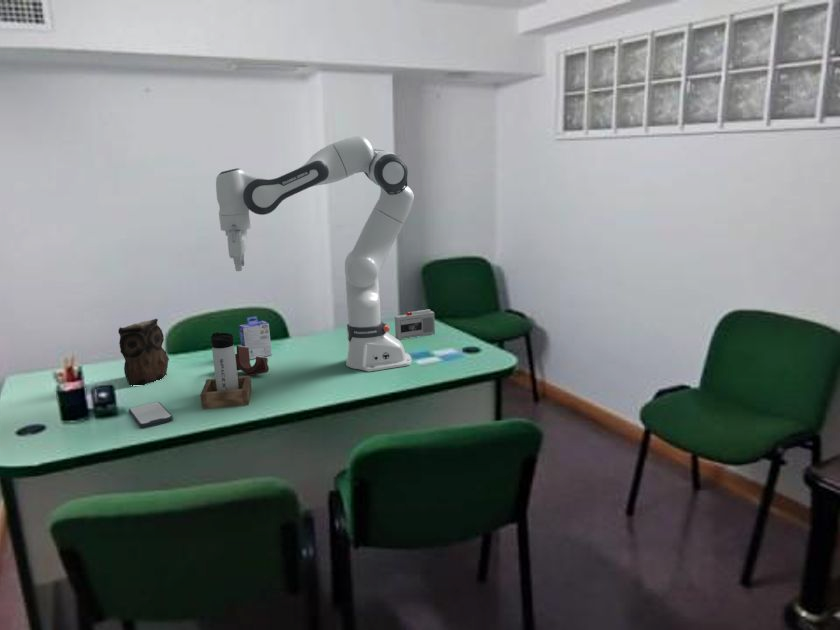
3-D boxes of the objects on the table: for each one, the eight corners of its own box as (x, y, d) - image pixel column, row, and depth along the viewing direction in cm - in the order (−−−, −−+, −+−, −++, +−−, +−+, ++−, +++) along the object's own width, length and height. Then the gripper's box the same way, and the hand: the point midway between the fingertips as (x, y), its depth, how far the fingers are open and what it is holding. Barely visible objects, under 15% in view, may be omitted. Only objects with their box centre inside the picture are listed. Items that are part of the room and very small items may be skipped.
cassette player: (398, 340, 244) (397, 315, 242) (395, 338, 247) (394, 313, 244) (434, 334, 251) (434, 309, 248) (431, 332, 253) (431, 308, 250)
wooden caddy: (252, 385, 200) (248, 349, 197) (248, 404, 185) (244, 365, 182) (209, 389, 198) (205, 353, 195) (202, 409, 182) (197, 369, 180)
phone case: (127, 413, 183) (140, 430, 170) (127, 408, 182) (139, 424, 170) (159, 405, 188) (174, 421, 175) (159, 400, 187) (173, 416, 175)
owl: (172, 373, 214) (164, 316, 209) (158, 386, 202) (150, 326, 197) (134, 375, 214) (125, 317, 209) (118, 388, 202) (108, 327, 197)
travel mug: (230, 393, 194) (223, 330, 189) (244, 397, 191) (237, 333, 186) (213, 399, 189) (205, 335, 185) (227, 404, 186) (219, 338, 181)
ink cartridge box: (267, 351, 235) (263, 314, 231) (272, 355, 230) (269, 316, 227) (241, 357, 229) (237, 318, 226) (246, 360, 225) (242, 321, 221)
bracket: (262, 371, 205) (260, 341, 207) (217, 379, 209) (215, 349, 211) (272, 372, 211) (269, 342, 212) (228, 380, 215) (226, 351, 217)
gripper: (243, 226, 184) (248, 273, 187) (248, 219, 203) (252, 262, 207) (220, 227, 183) (226, 274, 186) (227, 221, 202) (232, 263, 206)
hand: (240, 268), depth 197 cm, fingers open, 8 cm apart
